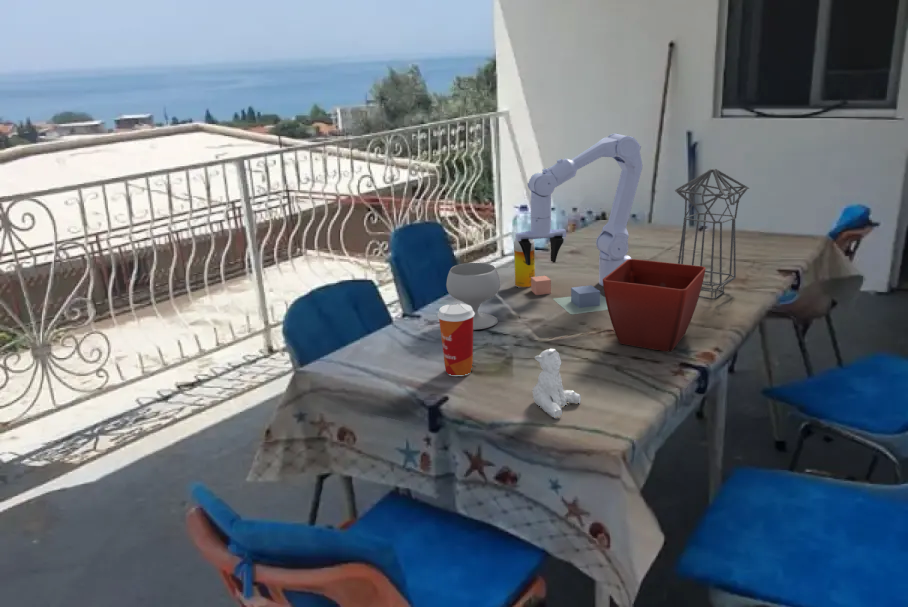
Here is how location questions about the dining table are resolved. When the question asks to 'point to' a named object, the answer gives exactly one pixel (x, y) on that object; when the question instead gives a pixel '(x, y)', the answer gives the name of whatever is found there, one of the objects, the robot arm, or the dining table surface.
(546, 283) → the top brick
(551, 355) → the seated beast figurine
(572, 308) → the plate
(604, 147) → the robot arm
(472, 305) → the chalice
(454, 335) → the coffee cup
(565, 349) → the dining table surface
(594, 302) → the base brick
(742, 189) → the geometric lantern
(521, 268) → the beer can
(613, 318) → the plant pot
